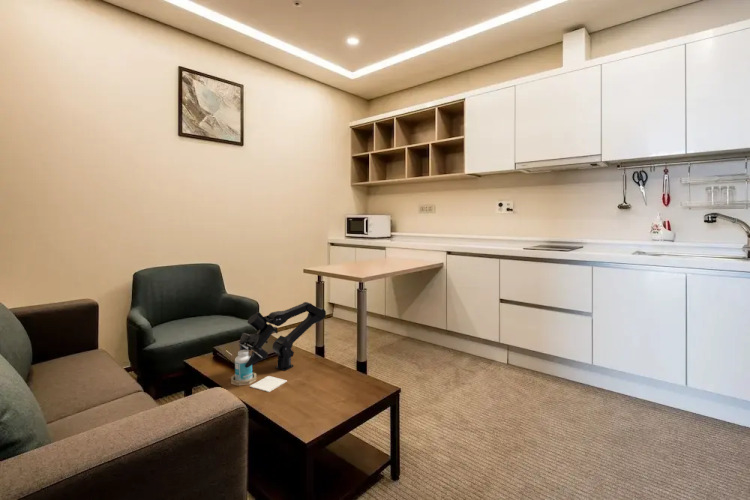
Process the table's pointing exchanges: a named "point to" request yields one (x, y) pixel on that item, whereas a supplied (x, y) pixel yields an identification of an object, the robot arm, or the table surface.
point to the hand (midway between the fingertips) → (240, 364)
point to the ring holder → (243, 381)
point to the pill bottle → (242, 366)
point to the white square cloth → (268, 383)
